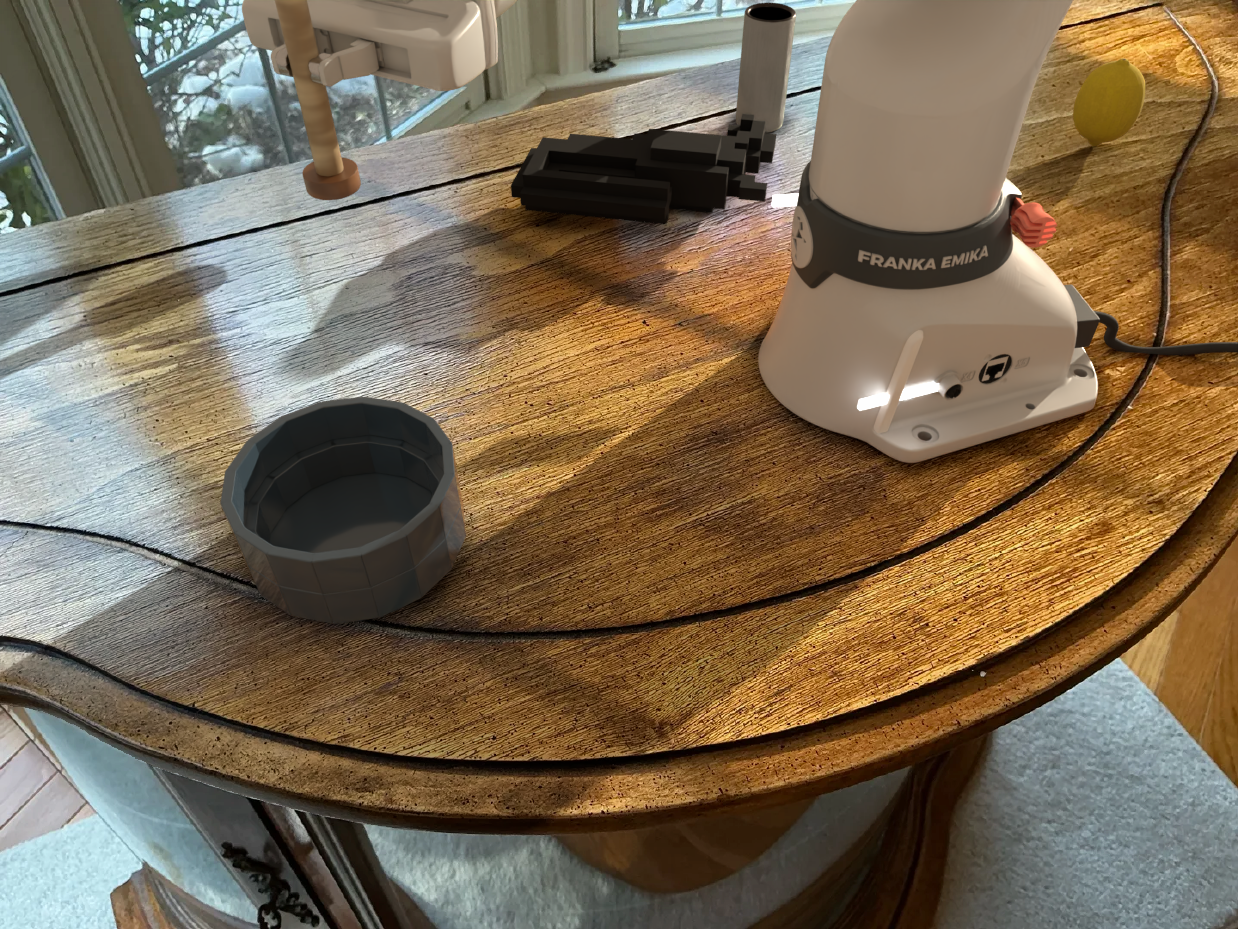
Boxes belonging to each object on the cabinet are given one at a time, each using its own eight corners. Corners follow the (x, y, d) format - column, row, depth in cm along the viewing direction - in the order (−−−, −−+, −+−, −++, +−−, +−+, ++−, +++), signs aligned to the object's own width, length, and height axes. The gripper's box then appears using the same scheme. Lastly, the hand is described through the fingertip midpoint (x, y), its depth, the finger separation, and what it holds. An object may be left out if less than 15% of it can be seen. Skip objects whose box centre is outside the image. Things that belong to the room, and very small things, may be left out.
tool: (551, 85, 88) (504, 167, 77) (780, 104, 85) (763, 192, 75) (554, 141, 92) (510, 227, 81) (773, 162, 89) (757, 253, 78)
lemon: (1049, 136, 92) (1077, 50, 86) (1100, 127, 93) (1131, 42, 87) (1086, 164, 88) (1118, 76, 83) (1138, 154, 89) (1173, 67, 84)
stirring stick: (361, 170, 83) (313, -62, 70) (360, 197, 80) (310, -40, 67) (307, 175, 82) (249, -58, 69) (305, 202, 79) (243, -36, 66)
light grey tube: (790, 118, 95) (804, 8, 87) (770, 137, 92) (782, 25, 85) (748, 107, 96) (758, -2, 89) (727, 126, 94) (735, 14, 86)
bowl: (460, 458, 62) (448, 386, 58) (473, 614, 54) (460, 542, 49) (261, 483, 61) (234, 410, 56) (242, 646, 52) (208, 576, 48)
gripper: (301, -54, 83) (180, 2, 74) (508, -13, 76) (402, 53, 68) (317, 23, 87) (205, 84, 79) (514, 67, 81) (416, 139, 72)
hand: (298, 70), depth 73 cm, fingers closed on stirring stick, 2 cm apart
